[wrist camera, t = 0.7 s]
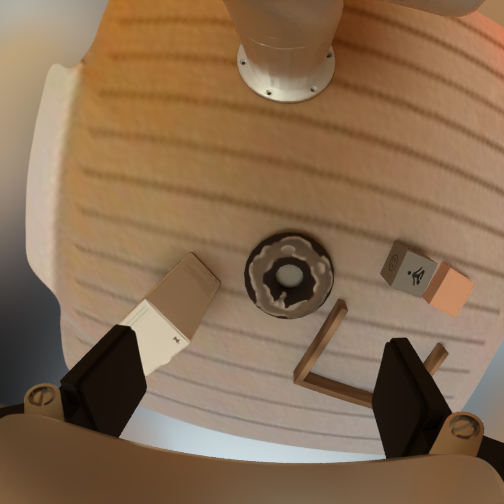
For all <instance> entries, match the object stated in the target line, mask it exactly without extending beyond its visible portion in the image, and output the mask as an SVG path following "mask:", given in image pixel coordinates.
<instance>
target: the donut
mask: <svg viewBox="0 0 504 504" xmlns="http://www.w3.org/2000/svg"><path fill="white" fill-rule="evenodd" d="M287 264H291V265H295V266H297V267H299V268H300V269H301V271H302V272H303V275H304V278H303V282H302V283H301V285H300V286H299V287H297V288H295V289H291V290H288V289H283V288H281V287H280V286H278V284H277V283H276V280H275V274H276V272H277V270H278V269H279V268H280V267H281V266H283V265H287ZM244 277H245V287H246V289H247V292H248V294H249V297H250V298H251V300H252V301H253V302H254V303H255V305H256V306H257V307H258V308H259V309H261V310H262V311H264V312H265V313H267V314H269V315H271V316H274V317H277V318H281V319H296V318H301V317H304V316H306V315H309V314H311V313H313V312H315V311H316V310H317V309H318V308H319V307H321V306H322V305H323V304H324V302H325V301H326V299H327V298H328V296H329V295H330V293H331V289H332V286H333V283H334V268H333V265H332V262H331V259H330V257H329V255H328V254H327V252H326V251H325V249H324V248H323V247H322V246H321V245H320V244H318V243H317V242H316V241H315V240H313V239H312V238H309V237H307V236H304V235H302V234H297V233H283V234H278V235H274V236H272V237H270V238H268V239H266V240H264V241H262V242H261V243H260V244H259V245H258V246H257V247H256V248H255V249H254V250H253V251H252V253H251V255H250V256H249V258H248V260H247V262H246V267H245V272H244Z"/></svg>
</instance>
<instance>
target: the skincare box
mask: <svg viewBox="0 0 504 504" xmlns="http://www.w3.org/2000/svg"><path fill="white" fill-rule="evenodd" d="M220 284H221V283H220V282H219V281H218V280H217V279H216V278H215V277H214V276H213V274H212V273H211V272H210V271H209V270H208V269H207V268H206V267H205V266H204V265H203V264H202V263H201V262H200V261H199V260H198V259H197V258H196V257H195V256H194V255H193V253H191V252H190V253H189V254H188V255H187V256H186V257H185V258H184V259H183V260H182V261H180V262H179V263H178V264H177V265H176V266H175V267H174V268H173V269H172V270H171V271H170V272H169V273H168V274H167V275H166V276H165V277H164V278H163V279H162V280H161V281H160V282H159V283H158V284H157V285H156V286H155V287H153V288H152V289H151V290H150V291H149V292H148V293H147V294H146V295H145V296H144V297H143V298H142V299H141V300H140V302H139V303H138V304H137V305H136V306H135V307H134V308H133V309H132V310H131V311H130V312H129V313H128V314H127V315H126V316H125V317H124V318H123V320H122V321H121V322H120V323H119V324H118V325H125V326H130V327H131V328H132V330H134V331H135V332H136V336H137V342H138V347H139V352H140V357H141V362H142V366H143V371H144V375H145V376H148V375H149V374H150V373H151V372H153V371H154V370H156V369H157V368H159V367H160V366H161V365H164V364H167V363H168V362H169V361H170V360H171V358H172V357H173V356H174V355H176V354H177V353H178V352H180V351H181V350H182V349H184V348H185V347H186V346H187V345H189V343H190V341H191V339H192V337H193V335H194V334H195V332H196V330H197V328H198V326H199V324H200V322H201V320H202V318H203V316H204V314H205V312H206V310H207V308H208V307H209V305H210V303H211V301H212V299H213V297H214V295H215V293H216V291H217V290H218V288H219V286H220Z"/></svg>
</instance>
